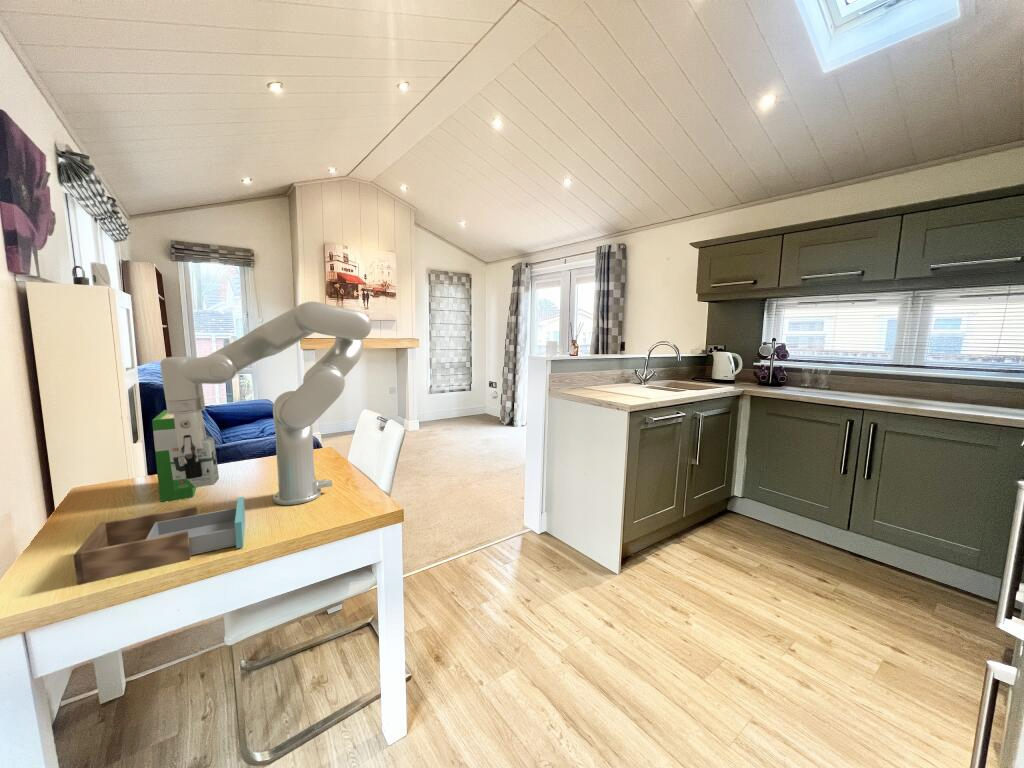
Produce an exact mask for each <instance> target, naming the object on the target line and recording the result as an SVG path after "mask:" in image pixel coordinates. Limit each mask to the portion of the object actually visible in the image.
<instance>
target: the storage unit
mask: <svg viewBox="0 0 1024 768" xmlns="http://www.w3.org/2000/svg"><path fill="white" fill-rule="evenodd" d="M194 515H199V513H198V506H191V507H184V508H180V509H173V510H166V511H161V512H155V513H149V514H145V515H137V516H133V517H127V518H121V519H120V518H119V519H115V520H114V519H113V520H110V521H109V520H108V521H102V522H100V523H99V524H98V525H97V527H96V528H95V529H94V530H93V531H92V532H91V534H90V535H89V536H88V538H86V540H85V541H84V542H83V543H82V544H81V546H80V547H79V548H78V549H77V550H76V552H74V554H73V563H74V564H73V565H74V570H75V571H74V572H75V579H76V585H77V584H79V585H82V584H87V582H88V583H91V582H96V581H100V580H105V579H110V578H113V577H117V576H123V575H127V574H132V573H135V572H140V571H144V570H149V569H153V568H157V567H159V568H160V567H163V566H166V565H167V566H168V565H171V564H176V563H180V562H184V561H189V560H191V556H192V555H190V545H189V534H188V531H185V532H180V533H175V534H170V535H165V536H160V537H155V538H150V539H146V538H147V536H148V535H149V533H150V531H151V529H152V527H153V526H154V524H155V522H160V521H166V520H171V519H177V518H182V517H188V516H194Z"/></svg>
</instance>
